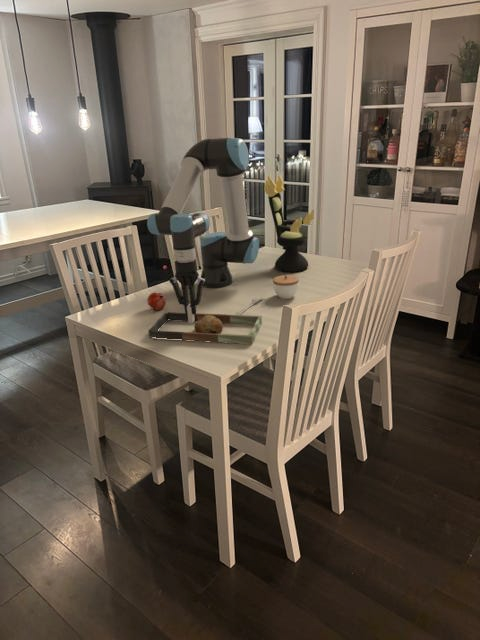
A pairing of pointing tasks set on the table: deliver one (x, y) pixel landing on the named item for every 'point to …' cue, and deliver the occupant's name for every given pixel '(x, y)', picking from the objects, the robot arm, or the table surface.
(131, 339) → the table surface
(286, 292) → the lidded jar
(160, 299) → the pomegranate
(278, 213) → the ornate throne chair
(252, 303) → the fork
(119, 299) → the table surface
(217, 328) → the bread roll
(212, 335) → the multicolored rectangular frame
